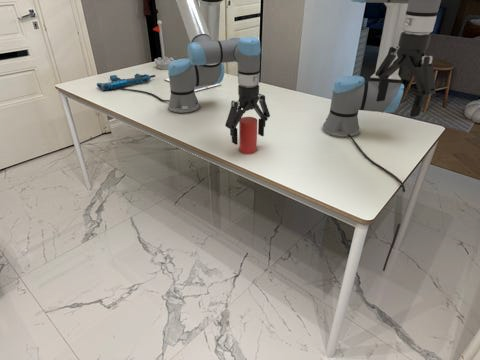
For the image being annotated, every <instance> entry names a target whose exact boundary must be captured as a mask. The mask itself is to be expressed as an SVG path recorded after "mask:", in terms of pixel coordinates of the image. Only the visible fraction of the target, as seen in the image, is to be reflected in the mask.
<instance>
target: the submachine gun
mask: <svg viewBox="0 0 480 360" xmlns="http://www.w3.org/2000/svg"><path fill="white" fill-rule="evenodd" d="M152 78H156V74H152V75H149V74H146V73H145V74H140V73H135V74H134V77H130V78H121V77H118V75H116V74H114V75H109V79H110V80H111V81H110V82H103V83H102V82H96V87H97V88H99V89H100V90H101V91H105V90H112V89H113V90H117V89H116V88H122V87H126V86H130V85H135V84H140V83H145V82H146V83H147V82H149V81H150V80H151V79H152Z"/></svg>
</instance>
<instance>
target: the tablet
mask: <svg viewBox="0 0 480 360" xmlns="http://www.w3.org/2000/svg"><path fill="white" fill-rule="evenodd" d="M164 81H165V82H166V81H167V82H168V83H170V81H169V77H167V78H164ZM219 86H222V84H221V83H219V84H214V85H204V86H196V87H194V92H195V93H197V92H199V91H204V90H207V89H211V88H215V87H219Z"/></svg>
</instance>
